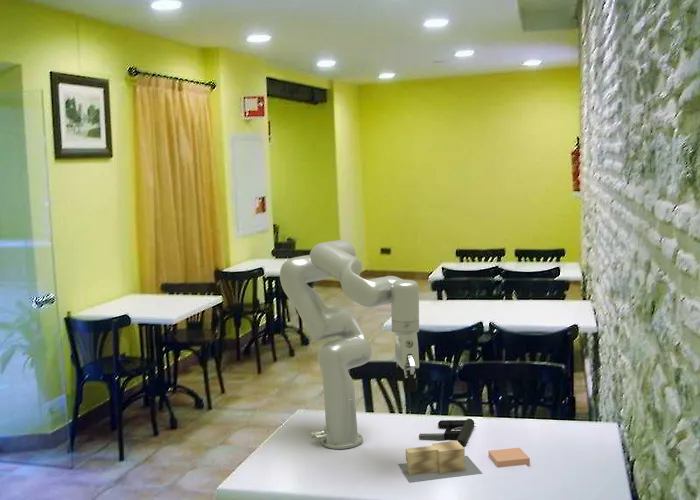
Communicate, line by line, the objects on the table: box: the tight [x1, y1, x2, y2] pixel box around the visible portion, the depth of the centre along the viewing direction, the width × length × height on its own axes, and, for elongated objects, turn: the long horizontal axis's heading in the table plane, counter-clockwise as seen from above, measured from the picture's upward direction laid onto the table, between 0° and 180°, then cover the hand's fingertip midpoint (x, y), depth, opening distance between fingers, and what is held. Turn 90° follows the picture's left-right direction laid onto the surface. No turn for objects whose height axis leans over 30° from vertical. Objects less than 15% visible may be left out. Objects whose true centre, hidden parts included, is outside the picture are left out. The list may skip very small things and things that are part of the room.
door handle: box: [418, 418, 477, 448], centre depth 226 cm, size 3×20×16 cm
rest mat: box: [397, 455, 483, 484], centre depth 201 cm, size 20×13×1 cm, turn 99°
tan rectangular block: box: [488, 447, 531, 468], centre depth 204 cm, size 3×8×9 cm
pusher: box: [405, 440, 466, 475], centre depth 200 cm, size 15×6×6 cm, turn 99°
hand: (406, 386), depth 204 cm, fingers open, 9 cm apart
